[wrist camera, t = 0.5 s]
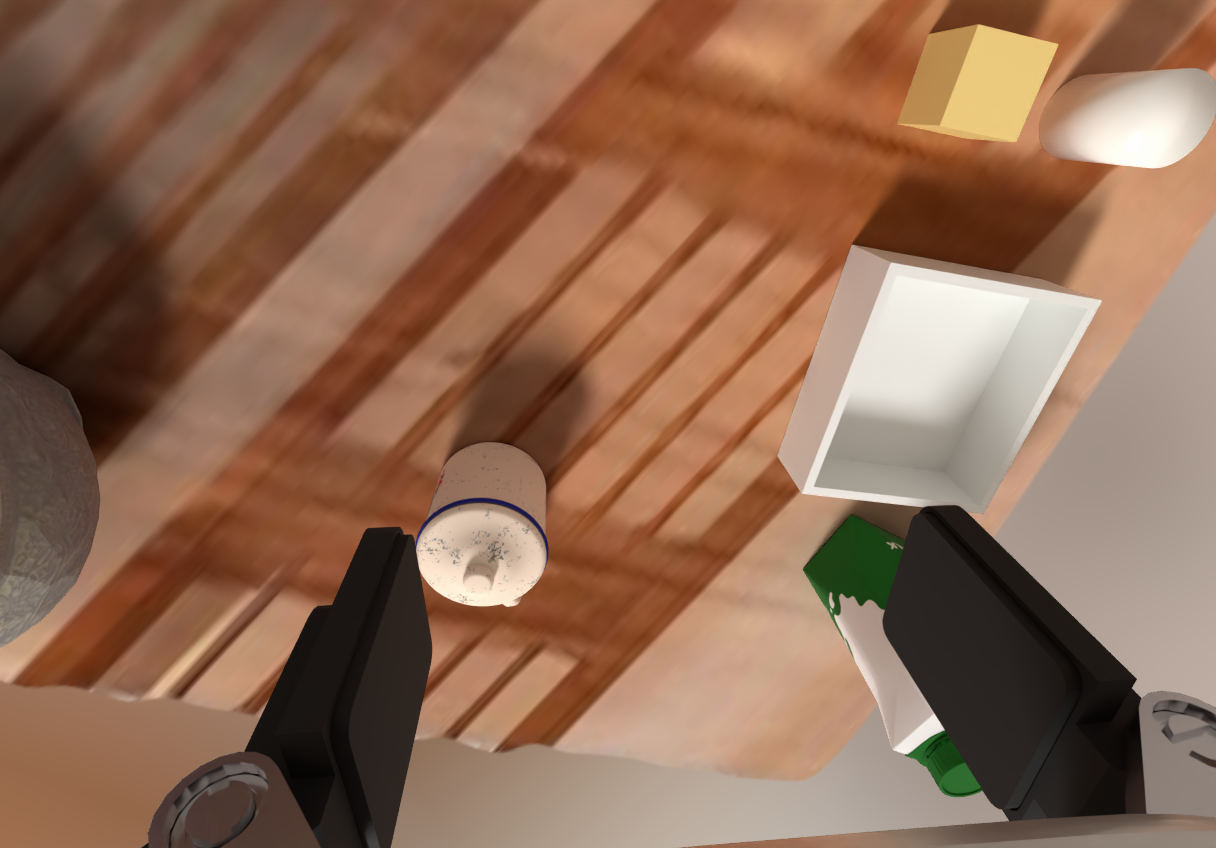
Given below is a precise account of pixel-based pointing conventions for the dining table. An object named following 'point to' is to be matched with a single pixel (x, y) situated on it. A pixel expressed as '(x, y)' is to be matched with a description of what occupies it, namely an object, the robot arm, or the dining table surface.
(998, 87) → the mustard block
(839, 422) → the tote
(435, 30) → the dining table surface
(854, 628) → the milk carton
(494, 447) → the teacup with lid
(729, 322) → the dining table surface
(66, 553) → the pot
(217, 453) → the dining table surface
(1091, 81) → the white canister
